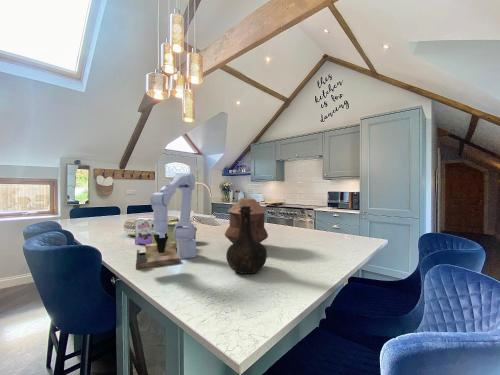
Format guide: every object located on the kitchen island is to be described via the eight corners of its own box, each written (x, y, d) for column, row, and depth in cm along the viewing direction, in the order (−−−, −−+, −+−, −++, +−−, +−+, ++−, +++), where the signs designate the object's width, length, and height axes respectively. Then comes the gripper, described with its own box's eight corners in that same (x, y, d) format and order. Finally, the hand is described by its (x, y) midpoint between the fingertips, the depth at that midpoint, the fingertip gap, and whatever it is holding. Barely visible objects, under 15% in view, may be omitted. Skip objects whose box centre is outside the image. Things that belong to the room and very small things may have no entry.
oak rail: (174, 252, 105) (174, 241, 105) (175, 254, 102) (175, 243, 102) (145, 256, 100) (145, 244, 100) (145, 258, 97) (145, 246, 97)
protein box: (178, 250, 135) (177, 224, 135) (151, 251, 136) (150, 224, 136) (183, 246, 146) (183, 221, 146) (158, 246, 146) (158, 221, 146)
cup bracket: (146, 258, 113) (146, 249, 113) (146, 261, 107) (146, 252, 107) (136, 259, 111) (136, 250, 111) (136, 263, 106) (136, 253, 106)
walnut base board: (177, 259, 120) (177, 254, 120) (179, 263, 113) (179, 257, 113) (135, 264, 111) (135, 259, 111) (135, 269, 105) (135, 263, 105)
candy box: (134, 244, 152) (134, 219, 152) (140, 242, 158) (139, 217, 158) (153, 244, 150) (153, 219, 150) (159, 242, 156) (158, 218, 156)
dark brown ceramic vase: (259, 280, 91) (259, 208, 91) (218, 274, 97) (218, 207, 97) (271, 265, 108) (271, 205, 108) (236, 261, 114) (235, 204, 114)
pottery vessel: (230, 242, 153) (229, 197, 153) (269, 243, 150) (268, 196, 150) (219, 254, 128) (219, 199, 128) (266, 255, 124) (266, 199, 124)
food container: (192, 245, 148) (192, 229, 148) (183, 244, 149) (183, 229, 149) (200, 240, 160) (200, 226, 160) (191, 240, 162) (191, 226, 162)
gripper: (149, 218, 106) (150, 248, 106) (151, 223, 93) (151, 257, 93) (166, 217, 109) (166, 246, 109) (170, 221, 96) (170, 254, 96)
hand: (160, 251), depth 101 cm, fingers closed on oak rail, 3 cm apart
